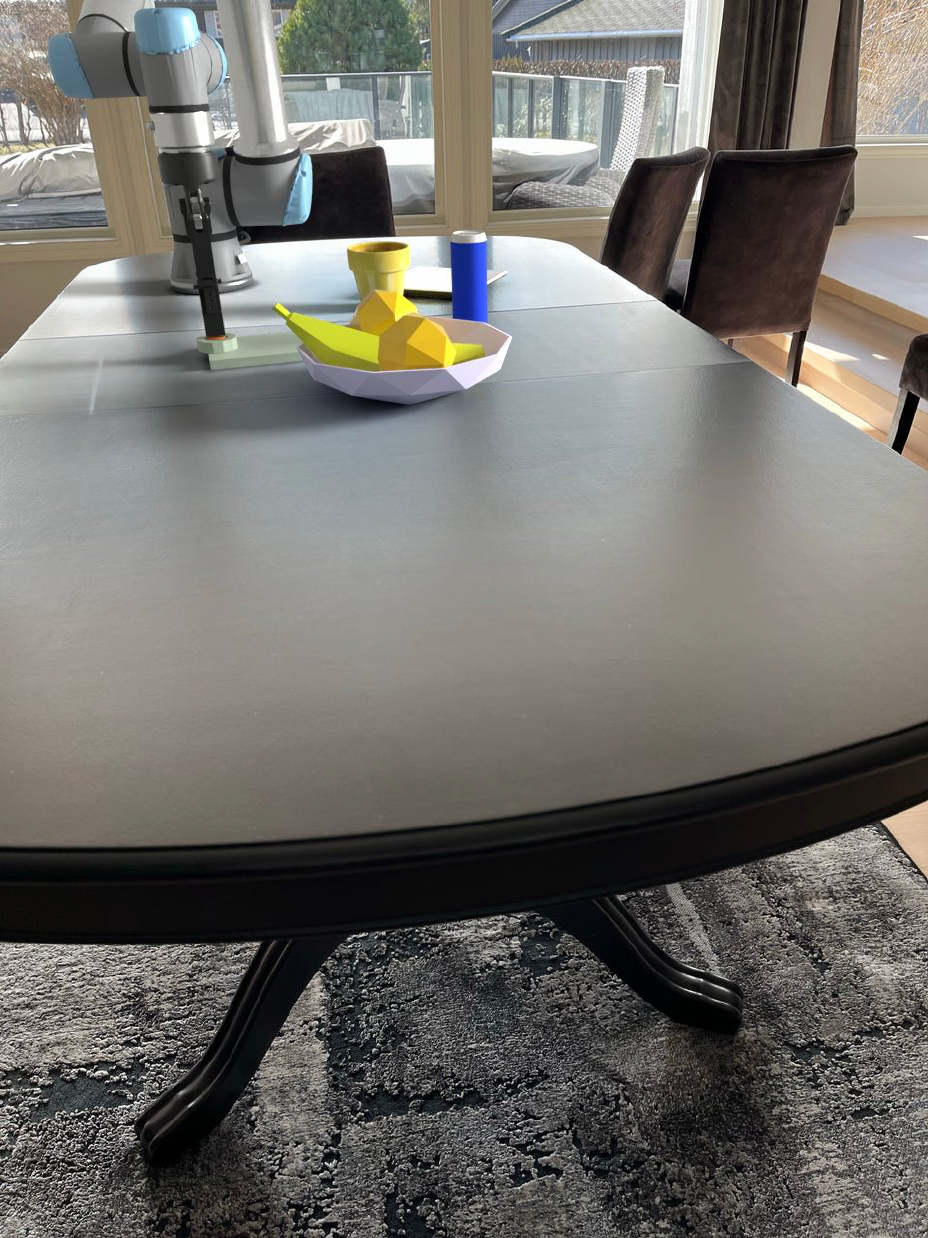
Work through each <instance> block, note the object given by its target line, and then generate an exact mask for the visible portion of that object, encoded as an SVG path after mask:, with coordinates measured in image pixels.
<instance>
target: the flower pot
mask: <svg viewBox="0 0 928 1238" xmlns="http://www.w3.org/2000/svg"><path fill="white" fill-rule="evenodd" d="M346 254H347V264H348V270H350V271H351V272H353V274H352V275H353V276H354V280H355V285H356V287H357V291H358V295H359V298H360V302H361V301H362V300H363V299H364V298H365V297H366V296H367V295H368V294H369V293H370V292H371V291H372V290H373V289H375V290H384V291H394V292H398V293H400V294H401V295H402V296H403V291H404V284H405V278H406V272H407V271H408V269H409V268H410V267H411V248H410V245H409V244H408V243H406V242H402V241H392V240H391V241H389V240H381V241H379V240H378V241H377V240H376V241H365V242H359V243H354V244H352V245H350V246H348V247H347V248H346ZM403 297H404V296H403Z"/></svg>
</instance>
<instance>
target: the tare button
mask: <svg viewBox="0 0 928 1238" xmlns="http://www.w3.org/2000/svg"><path fill="white" fill-rule="evenodd" d="M225 338H226V336H225V335H220V336H210V337H207V340H221V339H225Z"/></svg>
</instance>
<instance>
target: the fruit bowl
mask: <svg viewBox="0 0 928 1238" xmlns="http://www.w3.org/2000/svg"><path fill="white" fill-rule="evenodd" d="M272 311H274V312H275V313H276V314H278V315H279V316H280V317H281V318H282V319H283V320H285V325H286V326H287V327H288V328H289V330H291V332H292V331H293V332H294V333H295V334H296V336H297V337H298V338H299V339H300V340H301V341H302V342H303V343H302V344H300V345H299V346H297V347H296V348H297V350H298V352H299V354H300V356H301V358H302V359H303V361H302V362H303V364H304V365H305V367H306V369H307V371H308V373H309V374H310V376H311V378H312V379H313V380H314V381H316V382H318V383H321V384H323V385H326V386H328V387H330V388H333V389H335V390H337V391H340V392H342V393H345V394H347V395H350V396H352V397H358V398H363V399H370V400H376V401H377V400H378V401H383V402H388V403H389V402H391V403H394V404H402V405H407V406H411V405H415V404H418V403H422V402H425V401H429V400H432V399H433V400H434V399H437V398H440V397H444V396H448V395H451V394H455V393H458V392H462V391H466V390H468V389H470V388H472V387H473V386H475V385H476V384H478V383H480V382H481V381H483V380H485V379H487V378H488V377H490V376H492V375H494V374H495V373H497V372H499V371H500V370H501V369H502V365H503V363H504V360H505V358H506V355H507V352H508V349H509V346H510V344H511V341H512V338H513V336H512V335H510V334H508V333H506V332H504V331H502V330H500V329H498V328H496V327H495V326H493V325H491V324H490V323H488V324H487V323H485V322H476V321H467V320H459V319H453V318H451V317H440V316H432V315H431V316H423V315H422V314H419V312H418V309H417V306H416V305H415V304H414V303H413V302H412V301H410V300H409V299H407V298H406V296H402V295H401V294H400V293H398V292H394V291H384V290H375V289H373V290H372V291H371V292H370V293H369V294H368V295H367V296H366V297H365V298H364V299H363V300H362V301H361V300H360V302H359V303H358V304H357V306H356V307H355V310H354V312H353V315H352V317H351V319H350V322H349V323H348V324H344V325H342V324H341V325H340V324H337V323H333V322H331V321H330V322H329V321H327V320H323V319H319V318H315V317H313V316H312V317H311V316H309V315H305V314H302V313H298V312H295V311H293V312H290V311H289V310H288V309H287V308H285V307H284V306H283V305H282V304H281V303H279V302H276V303H275V304H274V305H273V306H272Z"/></svg>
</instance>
